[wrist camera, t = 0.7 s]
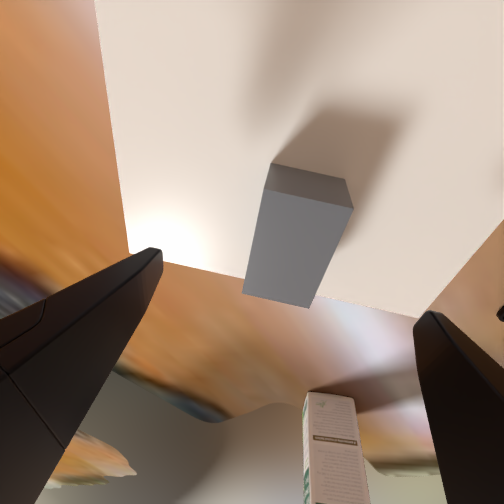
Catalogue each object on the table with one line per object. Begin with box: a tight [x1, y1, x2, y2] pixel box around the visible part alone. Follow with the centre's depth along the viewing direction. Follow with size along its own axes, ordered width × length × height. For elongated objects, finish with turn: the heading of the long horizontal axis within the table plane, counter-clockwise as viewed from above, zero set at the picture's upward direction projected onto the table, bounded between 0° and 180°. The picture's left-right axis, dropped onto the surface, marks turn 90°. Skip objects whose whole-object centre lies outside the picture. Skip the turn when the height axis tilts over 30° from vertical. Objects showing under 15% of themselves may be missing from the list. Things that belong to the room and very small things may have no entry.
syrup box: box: [303, 392, 370, 504], centre depth 30 cm, size 6×6×14 cm
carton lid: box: [94, 0, 504, 318], centre depth 9 cm, size 16×18×3 cm
